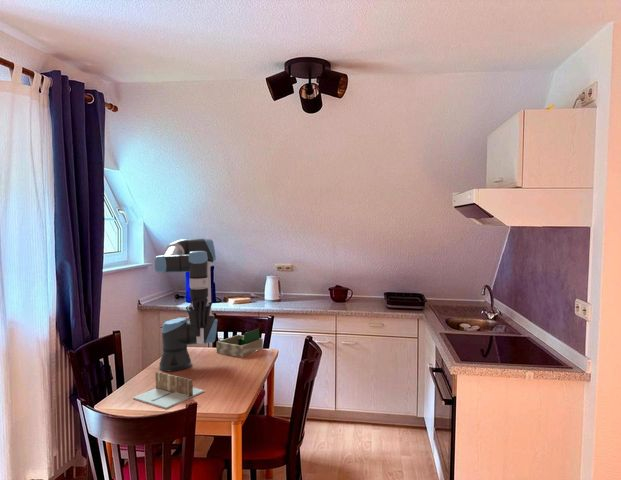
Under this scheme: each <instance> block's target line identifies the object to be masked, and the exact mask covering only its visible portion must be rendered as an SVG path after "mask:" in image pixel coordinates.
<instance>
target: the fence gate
mask: <svg viewBox="0 0 621 480" xmlns="http://www.w3.org/2000/svg"><path fill="white" fill-rule="evenodd" d="M174 384H175V392H176V393H179V394H183V395H186V396H189V397H191V396H193V387H194V386H193V379H192V378H191V379H189V377H187V378H186V377H183V376H180V375H178V376H177V375H175V377H174Z"/></svg>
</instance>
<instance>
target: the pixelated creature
mask: <svg viewBox="0 0 621 480" xmlns="http://www.w3.org/2000/svg"><path fill="white" fill-rule="evenodd" d="M243 335H244V338H242V339H241V338H239V339H237V340H238V345H240V346H242V345H245V344H247V343H250V342H253V341H255V340H258V339H259V338H260V328H256V329H253V330H251V331H246V332H244V333H243Z"/></svg>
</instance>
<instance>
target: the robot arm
mask: <svg viewBox="0 0 621 480" xmlns="http://www.w3.org/2000/svg"><path fill="white" fill-rule="evenodd" d="M216 258H217V257H216V249H215V245H214V241H213V240H212V239H211V238H190V239H189V238H184V239H179V240H176V241H173V242H171V243H169V244H168V245H167V246H166V247H165V250H164V254H162V255H156V256H155V258H154V270H155V271H154V272H156V273H158V274H160V273H161V274H166V273H167V274H168V273H189V275H188V276H189V288H190V289H189V298H190V302H189V303H190V304H189V305H187V306H185V309H186V311H187V313H188V318H189V320H187V318H186V317H179V318H174V319H169V320H167V321H164V322H163V324H162V325H161V327H162V328H161V334H162V335H161V336H162V354H161V358H160V361H159V365H158V366H159V369H160V370H161V371H164V372H174V371H176V372H177V371H182V370H185V369H188V368H190V367H191V366H192V360H191V357H190V354H189V351H188V345H189V346H190V345H203V344H204V345H207V344H211V343H212V344H213V343H214V342H215V341H216V337H217V328H218V319H217V318H215V315H214V314H213V313H212V304H213V302H212V288H211V287H212V285H211V282H212V281H211V280H212V279H211V266H213V265H214V261H216V260H217V259H216Z"/></svg>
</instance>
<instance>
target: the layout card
mask: <svg viewBox="0 0 621 480" xmlns="http://www.w3.org/2000/svg"><path fill="white" fill-rule="evenodd" d="M204 392H205V390H204V389H202V388H201V389H200V388H197V387H194V386H193V396H191V397H189V396H186V395H183V394H179V393H176V392H175V393H171V391H168V390H165V389H161V388H158V389H156V387H155V388H153V389H150V390H148V391H145V392H143V393H141V394H138V395H136V396H132V400H136V401H138V402H143V403H145V404H148V405H152V406H155V407H159V408H161V409H164V410H168V409H169V408H172V407H174V406H177V405H179V404H181V403H183V402H185V401H187V400H189V398H190V399H191V398H194V397H196V396H198V395H201V394H202V393H204Z"/></svg>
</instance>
